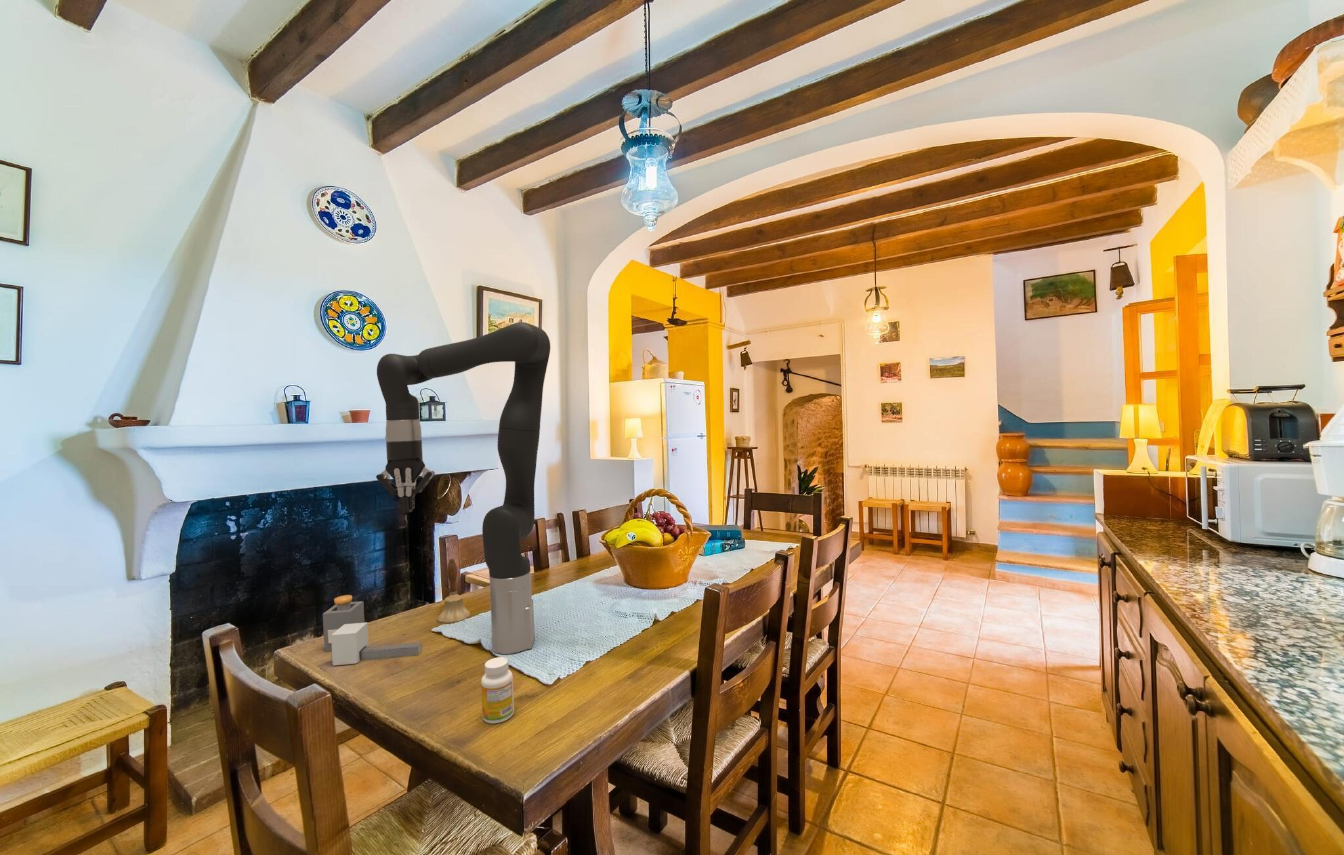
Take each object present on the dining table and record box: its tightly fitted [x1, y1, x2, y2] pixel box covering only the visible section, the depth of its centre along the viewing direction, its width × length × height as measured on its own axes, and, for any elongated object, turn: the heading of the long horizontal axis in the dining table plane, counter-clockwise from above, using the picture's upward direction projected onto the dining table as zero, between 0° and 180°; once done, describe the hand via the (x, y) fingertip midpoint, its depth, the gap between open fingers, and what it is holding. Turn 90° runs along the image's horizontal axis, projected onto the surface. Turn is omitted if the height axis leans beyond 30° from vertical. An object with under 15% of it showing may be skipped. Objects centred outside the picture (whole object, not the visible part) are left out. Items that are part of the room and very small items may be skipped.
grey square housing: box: [322, 600, 366, 653], centre depth 125 cm, size 6×7×9 cm
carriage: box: [331, 621, 370, 667], centre depth 117 cm, size 5×6×7 cm
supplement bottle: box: [480, 656, 515, 724], centre depth 93 cm, size 5×5×10 cm
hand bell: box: [437, 558, 471, 624], centre depth 140 cm, size 8×8×16 cm
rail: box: [359, 641, 423, 661], centre depth 118 cm, size 18×2×2 cm, turn 98°
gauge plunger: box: [333, 594, 353, 611], centre depth 125 cm, size 4×4×5 cm
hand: (407, 511), depth 123 cm, fingers closed
